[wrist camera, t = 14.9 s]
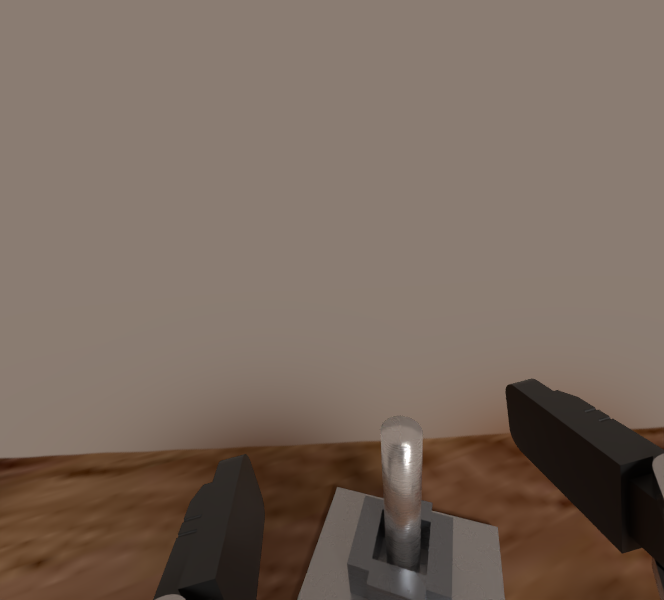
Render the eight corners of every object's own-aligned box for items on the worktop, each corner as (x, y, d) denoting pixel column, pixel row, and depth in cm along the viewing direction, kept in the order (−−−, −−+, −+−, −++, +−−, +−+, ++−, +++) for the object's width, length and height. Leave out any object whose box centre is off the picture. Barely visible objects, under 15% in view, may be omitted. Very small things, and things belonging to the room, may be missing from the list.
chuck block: (292, 624, 27) (283, 589, 25) (338, 493, 38) (334, 460, 36) (513, 717, 22) (524, 680, 20) (496, 533, 32) (502, 497, 30)
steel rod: (384, 582, 28) (376, 442, 22) (389, 548, 31) (384, 413, 24) (417, 594, 28) (420, 451, 21) (421, 558, 30) (424, 419, 24)
